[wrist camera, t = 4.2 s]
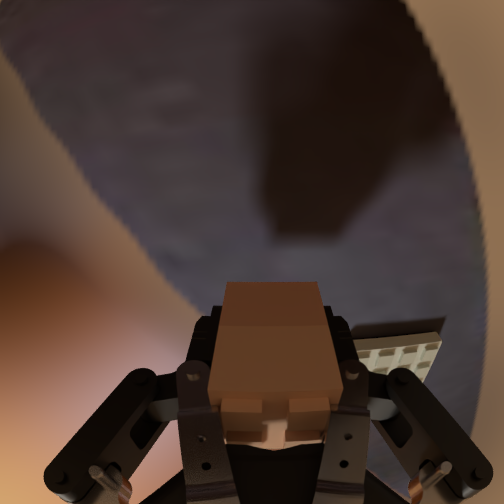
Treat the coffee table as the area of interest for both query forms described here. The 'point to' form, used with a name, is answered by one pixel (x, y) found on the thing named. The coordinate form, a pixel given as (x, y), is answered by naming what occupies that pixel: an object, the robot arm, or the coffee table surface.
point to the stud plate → (399, 353)
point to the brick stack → (273, 365)
